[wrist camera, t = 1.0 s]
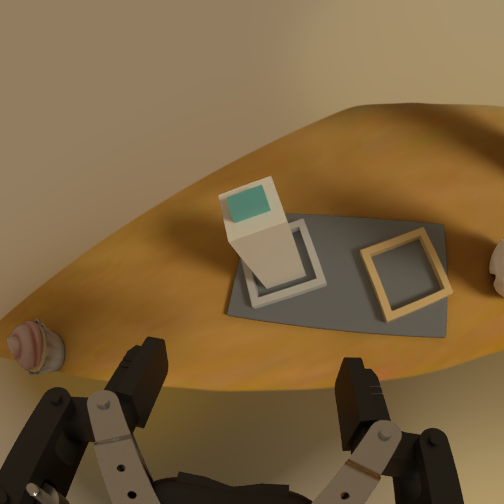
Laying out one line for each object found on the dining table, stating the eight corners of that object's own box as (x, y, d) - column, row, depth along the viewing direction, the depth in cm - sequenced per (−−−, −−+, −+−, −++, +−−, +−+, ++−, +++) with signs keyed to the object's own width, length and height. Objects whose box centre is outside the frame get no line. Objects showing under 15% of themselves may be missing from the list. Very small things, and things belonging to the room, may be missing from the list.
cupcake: (74, 328, 38) (25, 310, 30) (69, 385, 35) (17, 377, 26) (44, 323, 41) (1, 307, 32) (39, 373, 37) (-7, 363, 28)
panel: (248, 214, 37) (244, 207, 36) (445, 227, 29) (448, 220, 28) (225, 315, 33) (220, 312, 31) (446, 338, 25) (452, 335, 23)
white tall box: (257, 253, 34) (213, 188, 23) (294, 240, 33) (268, 168, 22) (266, 288, 32) (223, 235, 21) (306, 275, 31) (284, 214, 20)
